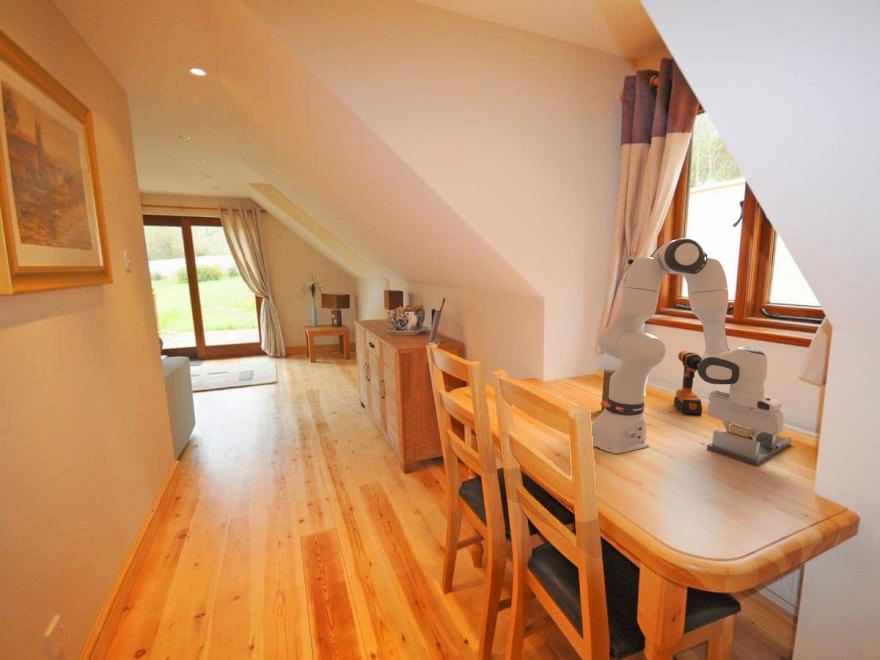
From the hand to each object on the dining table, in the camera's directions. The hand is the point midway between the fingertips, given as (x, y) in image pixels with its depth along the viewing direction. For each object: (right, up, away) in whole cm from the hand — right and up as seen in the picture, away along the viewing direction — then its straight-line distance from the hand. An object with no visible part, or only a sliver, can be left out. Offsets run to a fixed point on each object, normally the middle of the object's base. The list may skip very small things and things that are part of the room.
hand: (740, 438), depth 132 cm
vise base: (+7, -4, +5) cm, 9 cm away
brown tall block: (-26, 0, +36) cm, 44 cm away
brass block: (0, -2, 0) cm, 2 cm away
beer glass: (-4, +4, +59) cm, 60 cm away
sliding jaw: (+12, -2, +8) cm, 15 cm away
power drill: (+7, +1, +38) cm, 39 cm away
